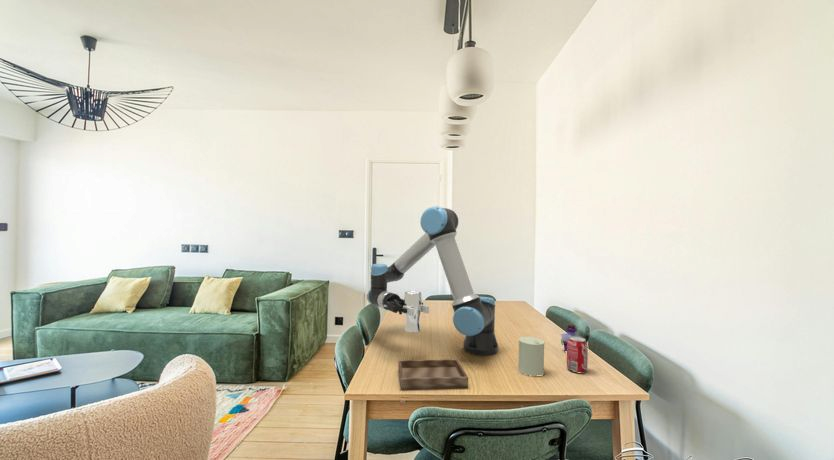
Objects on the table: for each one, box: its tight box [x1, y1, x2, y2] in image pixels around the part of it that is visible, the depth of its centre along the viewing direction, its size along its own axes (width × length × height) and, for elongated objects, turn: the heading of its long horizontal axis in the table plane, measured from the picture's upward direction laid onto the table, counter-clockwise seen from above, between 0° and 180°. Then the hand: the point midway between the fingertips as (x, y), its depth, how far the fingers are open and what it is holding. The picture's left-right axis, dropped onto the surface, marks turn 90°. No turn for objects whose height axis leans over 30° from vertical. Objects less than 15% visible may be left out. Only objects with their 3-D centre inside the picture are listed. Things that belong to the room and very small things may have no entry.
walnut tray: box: [397, 358, 469, 391], centre depth 116 cm, size 22×16×4 cm
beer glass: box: [403, 290, 423, 333], centre depth 132 cm, size 7×7×15 cm
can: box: [517, 336, 545, 377], centre depth 124 cm, size 9×9×12 cm
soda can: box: [566, 336, 589, 373], centre depth 125 cm, size 7×7×12 cm
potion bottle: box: [560, 323, 582, 352], centre depth 145 cm, size 9×9×12 cm
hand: (420, 311), depth 128 cm, fingers closed on beer glass, 6 cm apart
